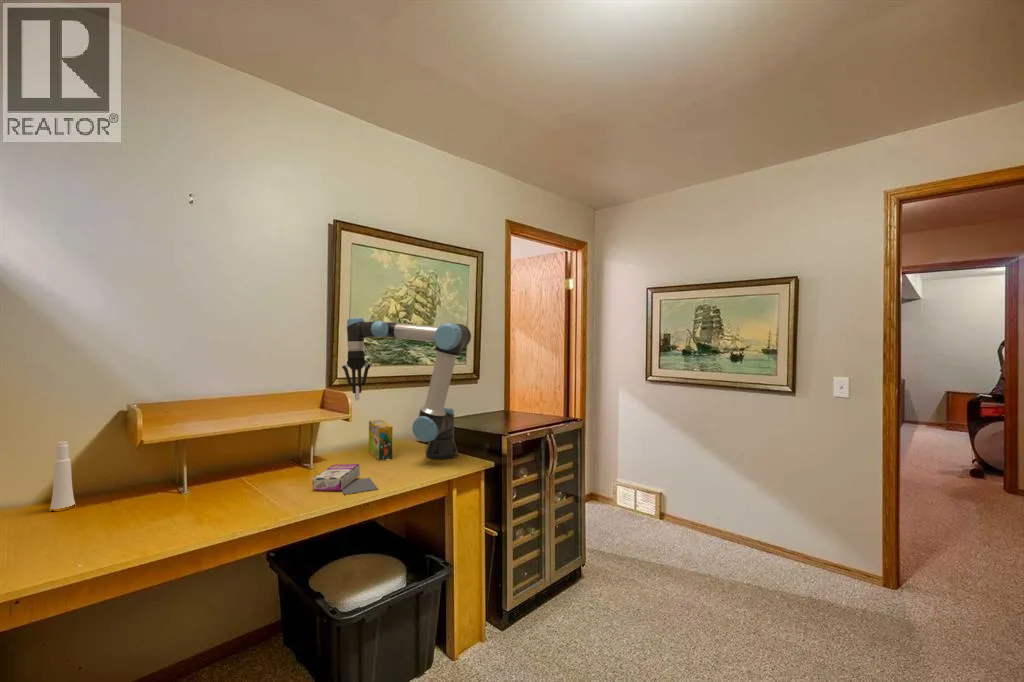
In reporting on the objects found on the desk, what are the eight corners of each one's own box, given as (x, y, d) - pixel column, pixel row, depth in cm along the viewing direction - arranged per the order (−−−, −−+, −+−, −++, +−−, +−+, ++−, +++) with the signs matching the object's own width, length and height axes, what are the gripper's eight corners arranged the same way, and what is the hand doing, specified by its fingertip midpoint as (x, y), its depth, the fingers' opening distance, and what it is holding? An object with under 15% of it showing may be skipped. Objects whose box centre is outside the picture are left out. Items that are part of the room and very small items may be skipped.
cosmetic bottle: (78, 507, 148) (78, 441, 148) (53, 513, 143) (52, 445, 142) (71, 503, 151) (71, 439, 151) (46, 509, 146) (46, 442, 146)
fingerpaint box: (393, 459, 208) (393, 425, 208) (378, 461, 205) (378, 427, 204) (382, 450, 224) (382, 419, 224) (368, 452, 221) (368, 420, 221)
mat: (369, 478, 179) (369, 477, 179) (378, 489, 166) (378, 488, 166) (337, 483, 173) (337, 482, 173) (344, 495, 160) (344, 494, 160)
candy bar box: (334, 476, 181) (312, 491, 165) (333, 464, 181) (311, 477, 165) (360, 476, 180) (341, 490, 164) (360, 463, 180) (340, 477, 163)
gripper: (368, 350, 218) (369, 398, 218) (340, 350, 211) (341, 400, 211) (371, 350, 211) (372, 399, 211) (342, 350, 205) (343, 402, 205)
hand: (357, 400), depth 211 cm, fingers closed
